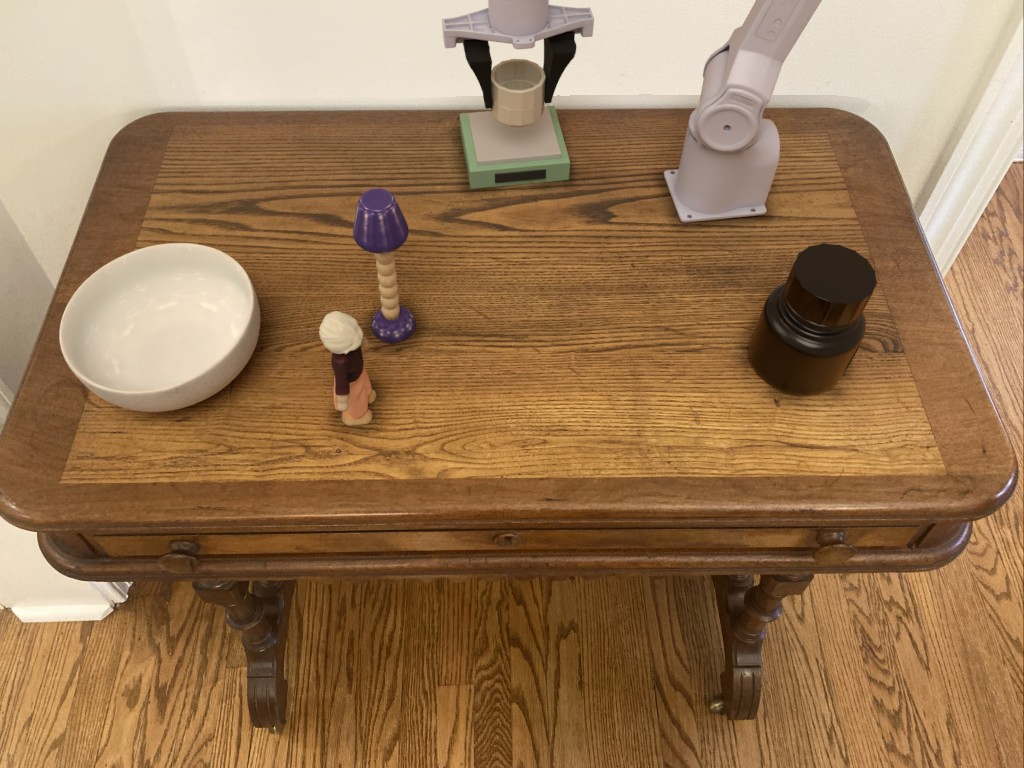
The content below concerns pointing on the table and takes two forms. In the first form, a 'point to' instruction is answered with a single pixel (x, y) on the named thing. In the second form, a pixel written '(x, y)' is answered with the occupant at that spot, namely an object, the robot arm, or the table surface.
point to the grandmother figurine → (348, 367)
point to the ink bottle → (813, 320)
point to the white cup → (517, 92)
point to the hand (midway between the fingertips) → (516, 100)
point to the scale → (513, 150)
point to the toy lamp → (384, 259)
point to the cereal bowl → (161, 327)
